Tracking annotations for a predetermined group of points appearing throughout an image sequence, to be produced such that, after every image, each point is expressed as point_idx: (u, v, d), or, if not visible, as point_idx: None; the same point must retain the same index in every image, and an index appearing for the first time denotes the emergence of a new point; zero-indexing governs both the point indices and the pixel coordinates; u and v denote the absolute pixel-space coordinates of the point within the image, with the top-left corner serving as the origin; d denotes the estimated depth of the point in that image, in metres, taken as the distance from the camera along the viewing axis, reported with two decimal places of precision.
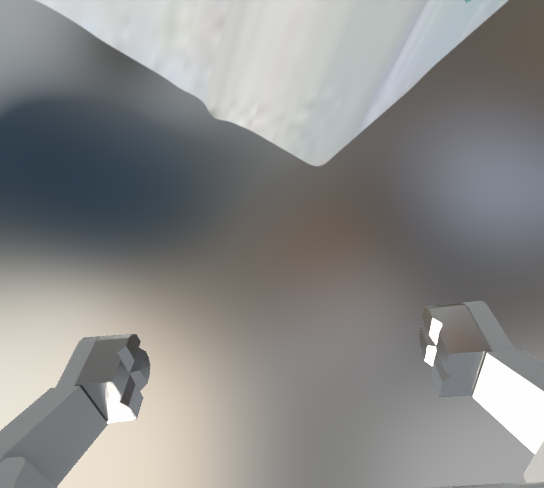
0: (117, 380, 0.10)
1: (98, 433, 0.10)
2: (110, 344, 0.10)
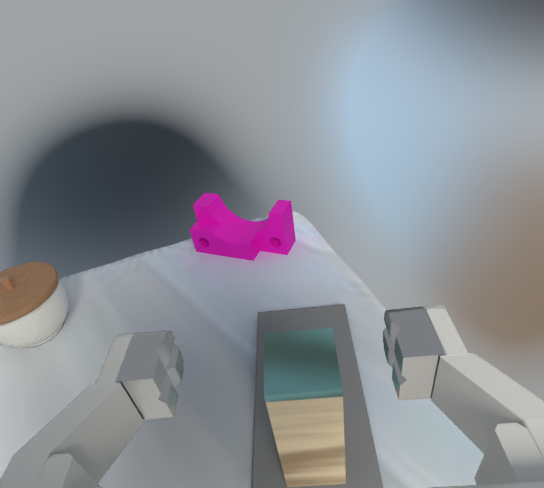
0: (156, 377, 0.10)
1: (135, 430, 0.10)
2: (147, 341, 0.10)
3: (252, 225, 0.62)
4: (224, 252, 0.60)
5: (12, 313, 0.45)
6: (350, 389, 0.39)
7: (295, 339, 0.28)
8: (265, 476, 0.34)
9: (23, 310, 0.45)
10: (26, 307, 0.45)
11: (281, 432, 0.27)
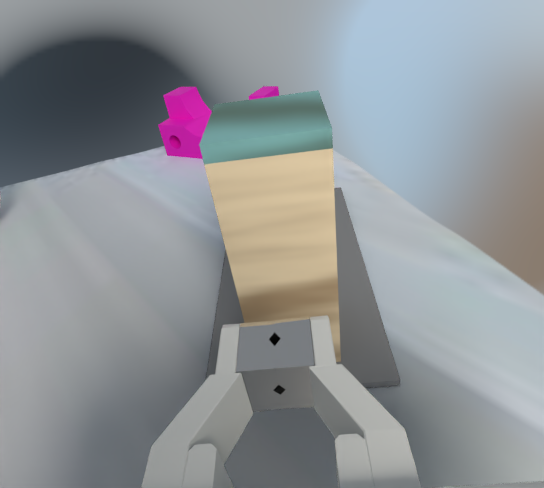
0: None
1: (247, 422, 0.10)
2: (256, 331, 0.10)
3: None
4: (198, 153, 0.50)
5: None
6: (347, 263, 0.29)
7: (259, 103, 0.18)
8: None
9: None
10: None
11: (238, 244, 0.17)
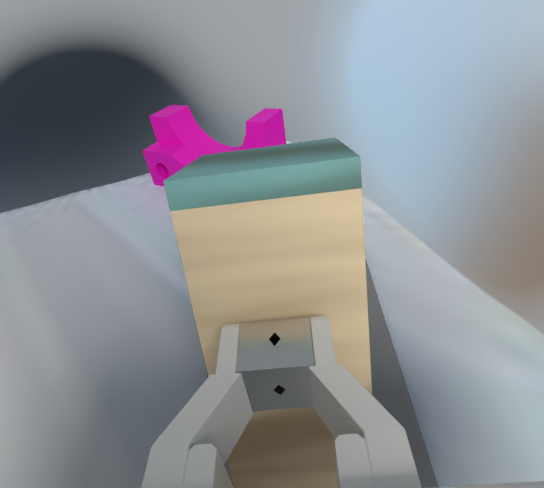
0: None
1: (247, 422, 0.10)
2: (256, 331, 0.10)
3: (230, 150, 0.44)
4: None
5: None
6: (376, 362, 0.22)
7: (259, 149, 0.14)
8: None
9: None
10: None
11: (219, 337, 0.11)
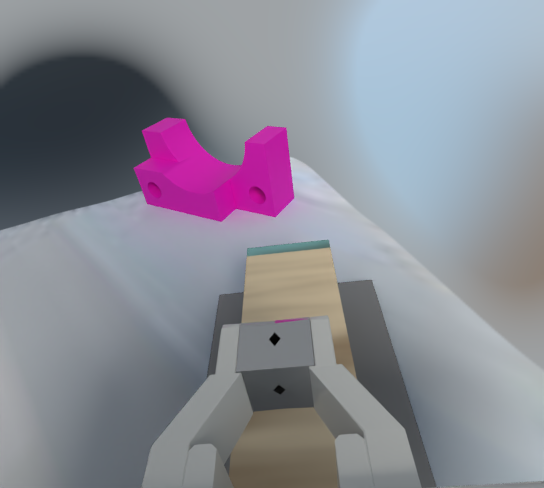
0: None
1: (247, 422, 0.10)
2: (256, 331, 0.10)
3: (230, 169, 0.40)
4: (181, 206, 0.39)
5: None
6: None
7: None
8: None
9: None
10: None
11: (254, 303, 0.20)
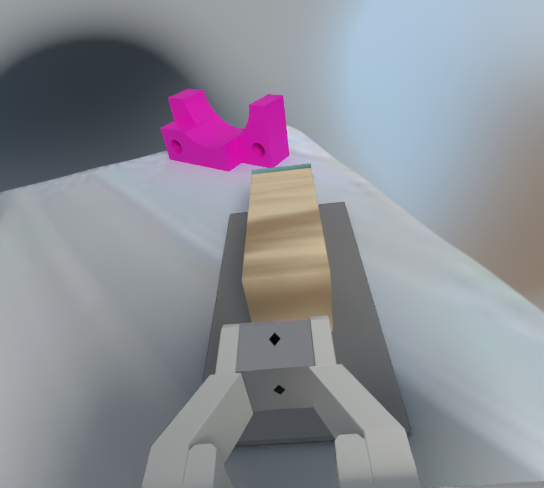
0: None
1: (247, 422, 0.10)
2: (256, 331, 0.10)
3: (238, 131, 0.49)
4: (198, 160, 0.48)
5: None
6: (352, 289, 0.27)
7: None
8: None
9: None
10: None
11: (257, 197, 0.29)
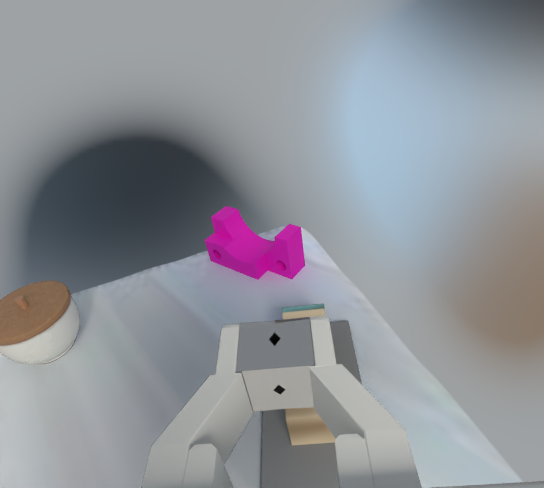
0: None
1: (247, 422, 0.10)
2: (256, 331, 0.10)
3: (265, 244, 0.62)
4: (233, 266, 0.62)
5: (27, 332, 0.46)
6: None
7: None
8: None
9: (38, 329, 0.47)
10: (40, 326, 0.47)
11: None
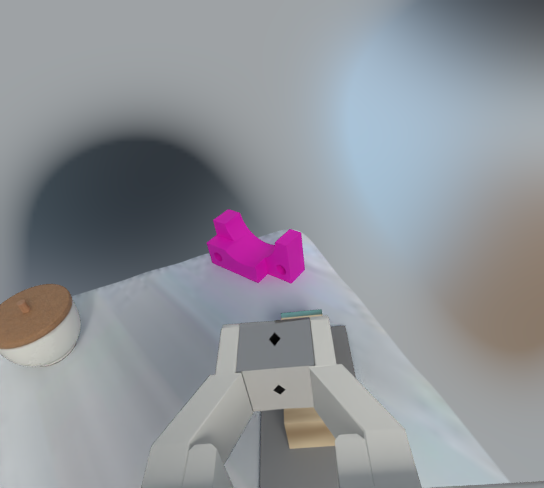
0: None
1: (247, 422, 0.10)
2: (256, 331, 0.10)
3: (265, 247, 0.63)
4: (234, 269, 0.63)
5: (29, 336, 0.47)
6: None
7: None
8: None
9: (40, 333, 0.48)
10: (43, 330, 0.48)
11: None
